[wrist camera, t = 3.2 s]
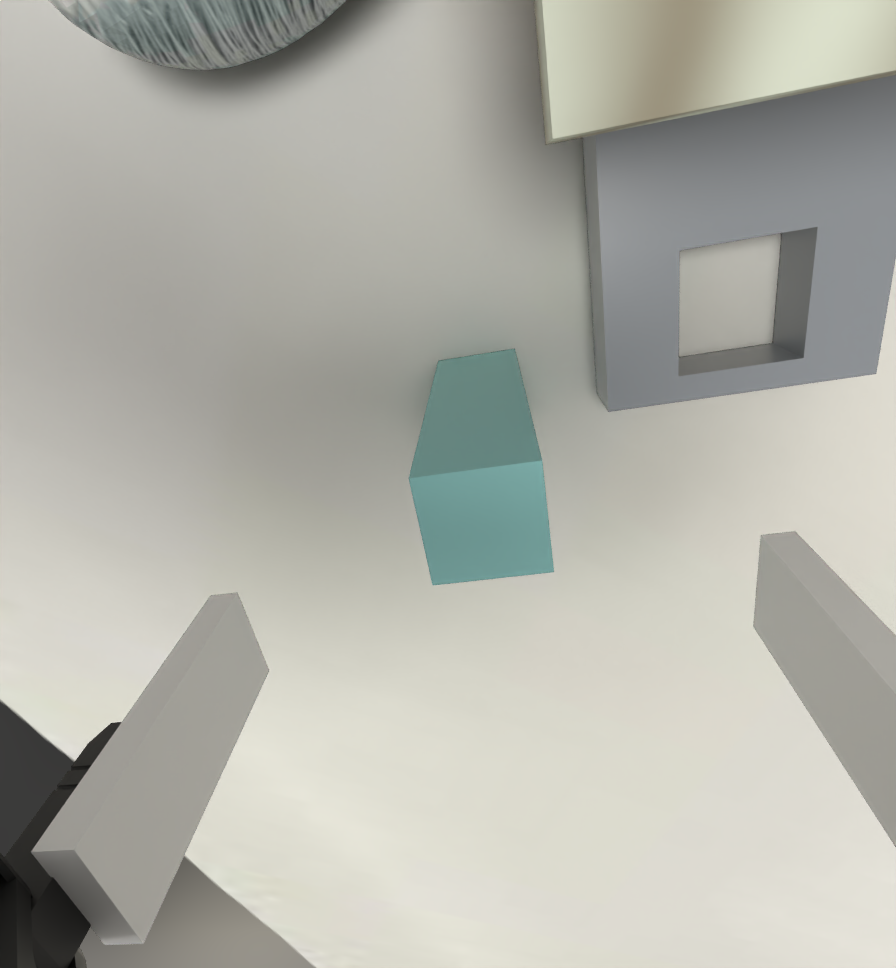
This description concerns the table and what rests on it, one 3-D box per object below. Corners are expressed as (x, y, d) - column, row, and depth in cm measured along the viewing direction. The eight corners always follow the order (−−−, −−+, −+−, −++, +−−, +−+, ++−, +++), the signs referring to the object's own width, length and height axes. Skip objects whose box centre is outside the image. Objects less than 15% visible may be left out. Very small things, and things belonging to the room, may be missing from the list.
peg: (451, 431, 31) (432, 585, 19) (438, 360, 29) (408, 478, 17) (523, 421, 31) (553, 571, 18) (514, 348, 29) (542, 460, 16)
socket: (596, 392, 30) (608, 411, 27) (578, 75, 24) (591, 59, 21) (838, 357, 28) (876, 373, 26) (885, 9, 22) (941, -17, 20)
